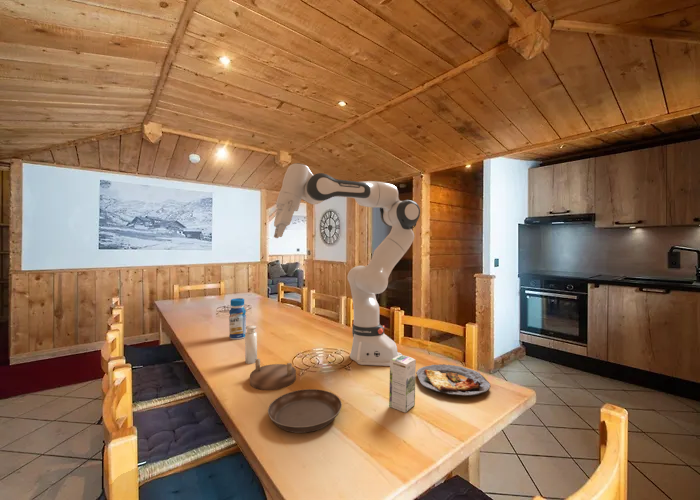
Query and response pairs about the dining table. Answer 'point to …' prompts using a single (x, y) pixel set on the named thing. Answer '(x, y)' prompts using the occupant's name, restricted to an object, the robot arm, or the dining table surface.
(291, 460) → the dining table surface
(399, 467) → the dining table surface
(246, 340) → the bud vase
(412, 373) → the syrup box
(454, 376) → the food plate
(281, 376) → the pedestal
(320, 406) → the plant saucer
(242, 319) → the beverage bottle
